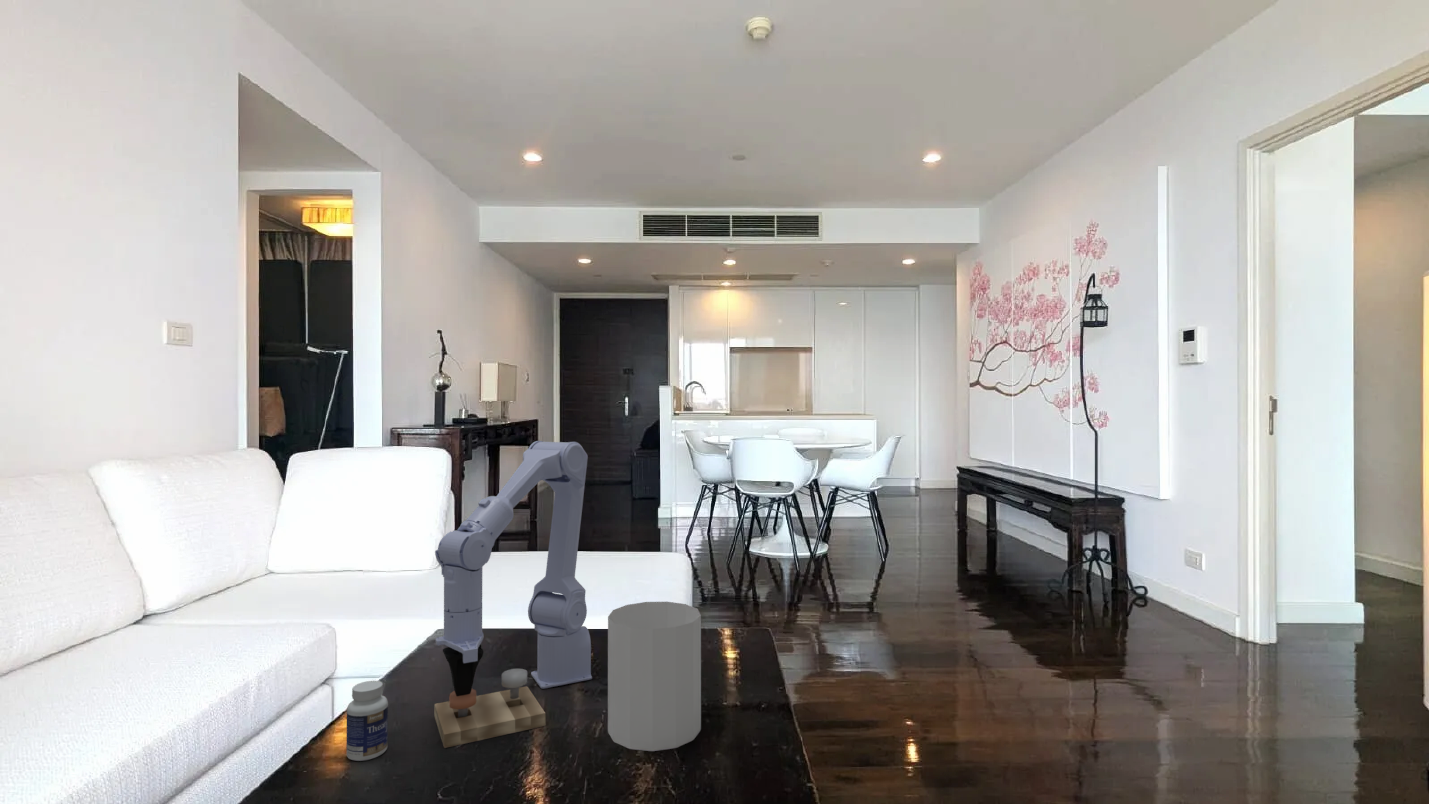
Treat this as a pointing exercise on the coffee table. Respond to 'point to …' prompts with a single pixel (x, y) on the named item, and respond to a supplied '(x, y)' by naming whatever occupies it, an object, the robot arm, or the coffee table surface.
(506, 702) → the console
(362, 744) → the pill bottle
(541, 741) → the coffee table surface
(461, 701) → the rust plunger
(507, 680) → the grey plunger
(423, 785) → the coffee table surface
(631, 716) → the container
